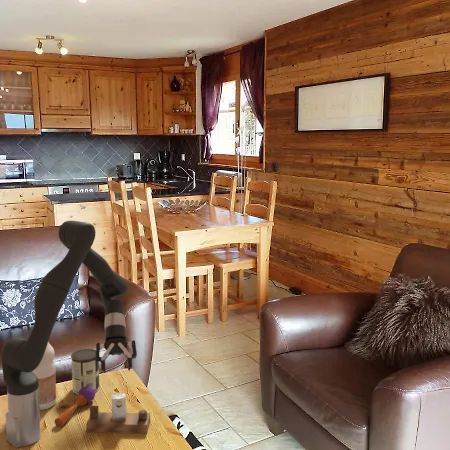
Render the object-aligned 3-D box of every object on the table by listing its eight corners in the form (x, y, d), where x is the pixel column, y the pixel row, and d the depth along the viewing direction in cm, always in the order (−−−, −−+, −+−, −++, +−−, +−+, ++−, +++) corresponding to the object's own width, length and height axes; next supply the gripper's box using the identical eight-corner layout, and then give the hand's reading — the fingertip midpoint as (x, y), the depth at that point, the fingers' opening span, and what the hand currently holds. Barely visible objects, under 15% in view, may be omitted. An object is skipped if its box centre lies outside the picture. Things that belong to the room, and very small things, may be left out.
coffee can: (86, 379, 198) (85, 346, 196) (105, 386, 193) (104, 352, 191) (66, 390, 190) (65, 355, 187) (85, 397, 184) (84, 362, 182)
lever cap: (112, 422, 164) (112, 399, 162) (112, 416, 167) (111, 394, 166) (125, 420, 165) (125, 398, 163) (125, 415, 168) (125, 393, 167)
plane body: (86, 432, 163) (85, 412, 162) (91, 420, 170) (91, 401, 169) (147, 433, 163) (147, 413, 162) (150, 421, 170) (150, 402, 169)
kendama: (49, 414, 166) (82, 383, 184) (53, 430, 167) (85, 397, 186) (64, 414, 164) (95, 382, 183) (68, 430, 165) (99, 397, 184)
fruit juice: (46, 412, 174) (44, 337, 169) (23, 408, 176) (19, 334, 171) (61, 399, 183) (59, 327, 178) (39, 395, 185) (36, 324, 180)
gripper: (95, 325, 178) (95, 369, 169) (135, 322, 181) (138, 365, 172) (95, 333, 184) (96, 376, 175) (134, 330, 187) (136, 372, 178)
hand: (116, 370), depth 174 cm, fingers open, 8 cm apart
